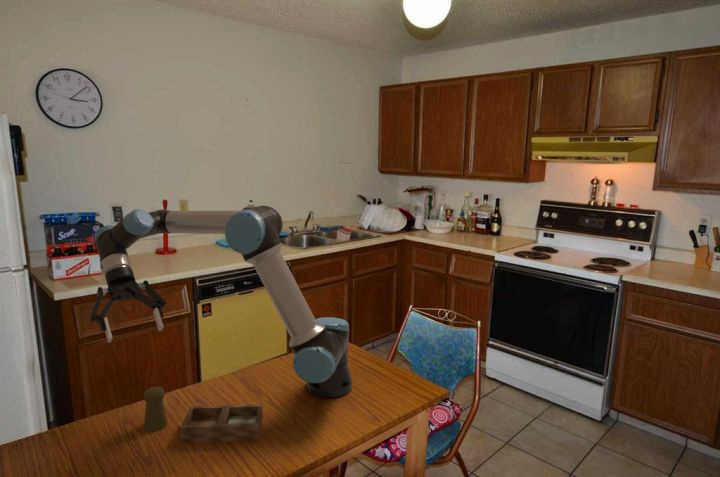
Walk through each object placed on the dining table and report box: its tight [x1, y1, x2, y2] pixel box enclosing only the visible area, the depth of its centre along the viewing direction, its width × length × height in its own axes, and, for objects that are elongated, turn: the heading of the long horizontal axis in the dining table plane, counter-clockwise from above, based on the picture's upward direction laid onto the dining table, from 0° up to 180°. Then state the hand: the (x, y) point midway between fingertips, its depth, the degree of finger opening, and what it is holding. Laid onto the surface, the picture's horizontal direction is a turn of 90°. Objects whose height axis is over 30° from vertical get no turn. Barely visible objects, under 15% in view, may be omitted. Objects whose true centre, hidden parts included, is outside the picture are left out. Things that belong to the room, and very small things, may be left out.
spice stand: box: [179, 403, 264, 444], centre depth 124 cm, size 20×10×4 cm, turn 96°
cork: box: [143, 385, 168, 433], centre depth 125 cm, size 6×6×11 cm
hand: (136, 334), depth 129 cm, fingers open, 13 cm apart
